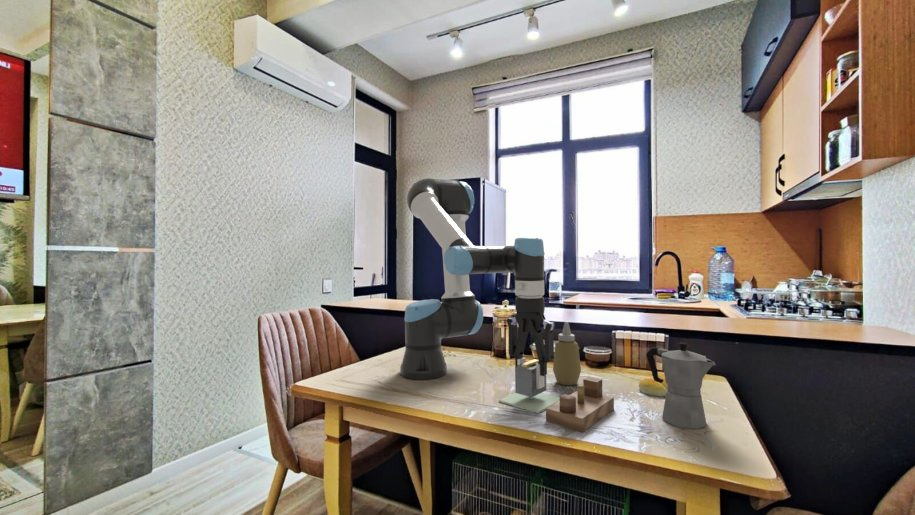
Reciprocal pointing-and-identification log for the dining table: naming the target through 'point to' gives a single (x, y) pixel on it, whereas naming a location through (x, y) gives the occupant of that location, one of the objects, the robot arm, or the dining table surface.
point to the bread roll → (653, 387)
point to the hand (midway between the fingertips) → (530, 385)
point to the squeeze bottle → (566, 358)
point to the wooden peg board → (581, 406)
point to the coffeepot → (682, 385)
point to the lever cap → (527, 379)
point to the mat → (530, 401)
